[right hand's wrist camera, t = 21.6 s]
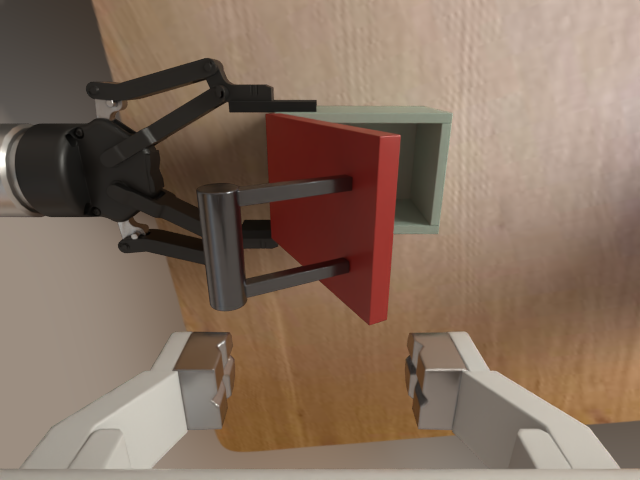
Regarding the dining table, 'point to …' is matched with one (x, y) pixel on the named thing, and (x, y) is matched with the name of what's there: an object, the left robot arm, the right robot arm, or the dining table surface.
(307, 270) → the lid
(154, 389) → the right robot arm
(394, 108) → the chest
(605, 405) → the dining table surface
